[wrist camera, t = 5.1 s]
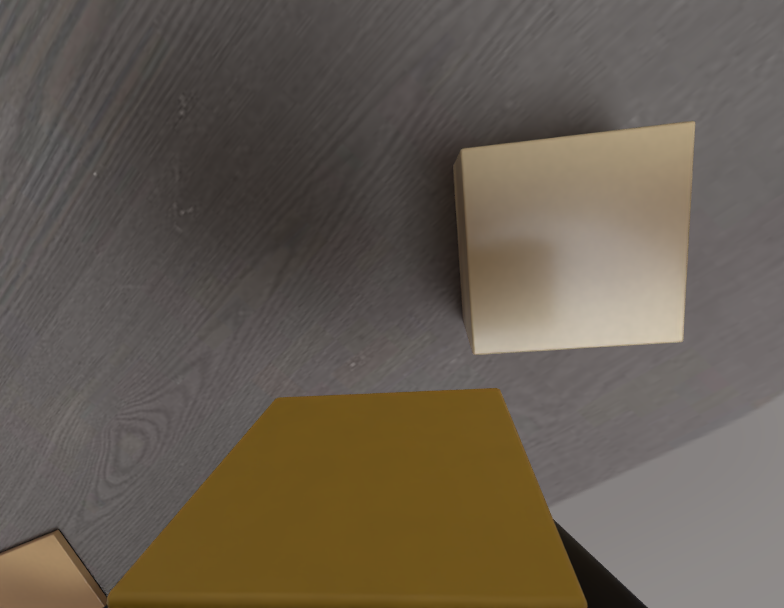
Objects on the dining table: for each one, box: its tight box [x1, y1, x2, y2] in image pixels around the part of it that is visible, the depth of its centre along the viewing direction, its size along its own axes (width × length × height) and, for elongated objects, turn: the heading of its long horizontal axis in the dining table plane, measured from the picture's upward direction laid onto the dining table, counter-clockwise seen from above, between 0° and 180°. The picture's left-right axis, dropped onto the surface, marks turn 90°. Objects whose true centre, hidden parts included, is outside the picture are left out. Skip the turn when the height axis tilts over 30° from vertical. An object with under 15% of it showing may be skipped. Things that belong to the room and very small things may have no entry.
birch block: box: [453, 121, 695, 355], centre depth 15 cm, size 7×7×4 cm
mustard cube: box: [107, 388, 587, 608], centre depth 6 cm, size 4×4×4 cm
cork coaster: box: [0, 530, 107, 608], centre depth 25 cm, size 8×8×1 cm
